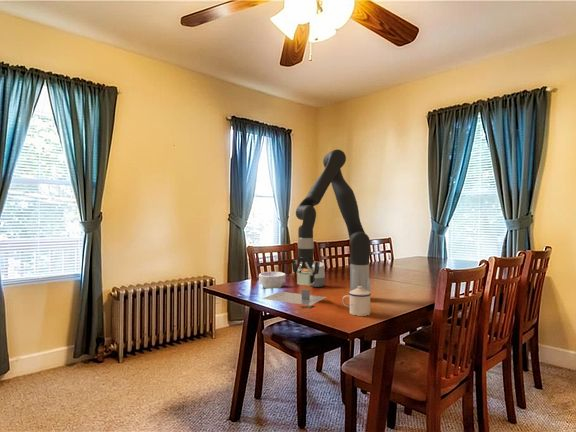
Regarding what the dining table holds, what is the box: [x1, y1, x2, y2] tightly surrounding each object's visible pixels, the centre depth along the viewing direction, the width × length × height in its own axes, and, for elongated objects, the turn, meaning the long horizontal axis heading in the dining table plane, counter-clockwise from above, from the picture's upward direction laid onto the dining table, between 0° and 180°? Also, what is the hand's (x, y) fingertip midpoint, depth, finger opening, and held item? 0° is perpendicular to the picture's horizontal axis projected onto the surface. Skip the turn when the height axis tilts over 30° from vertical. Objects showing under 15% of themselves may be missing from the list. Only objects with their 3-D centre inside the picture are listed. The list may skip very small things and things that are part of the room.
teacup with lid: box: [341, 286, 372, 317], centre depth 155 cm, size 12×9×12 cm
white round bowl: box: [258, 271, 286, 290], centre depth 208 cm, size 15×15×8 cm
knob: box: [296, 271, 314, 286], centre depth 173 cm, size 6×6×5 cm
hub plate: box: [261, 288, 328, 309], centre depth 176 cm, size 26×18×6 cm
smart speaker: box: [309, 261, 326, 288], centre depth 211 cm, size 10×9×14 cm
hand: (305, 282), depth 173 cm, fingers closed on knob, 6 cm apart
